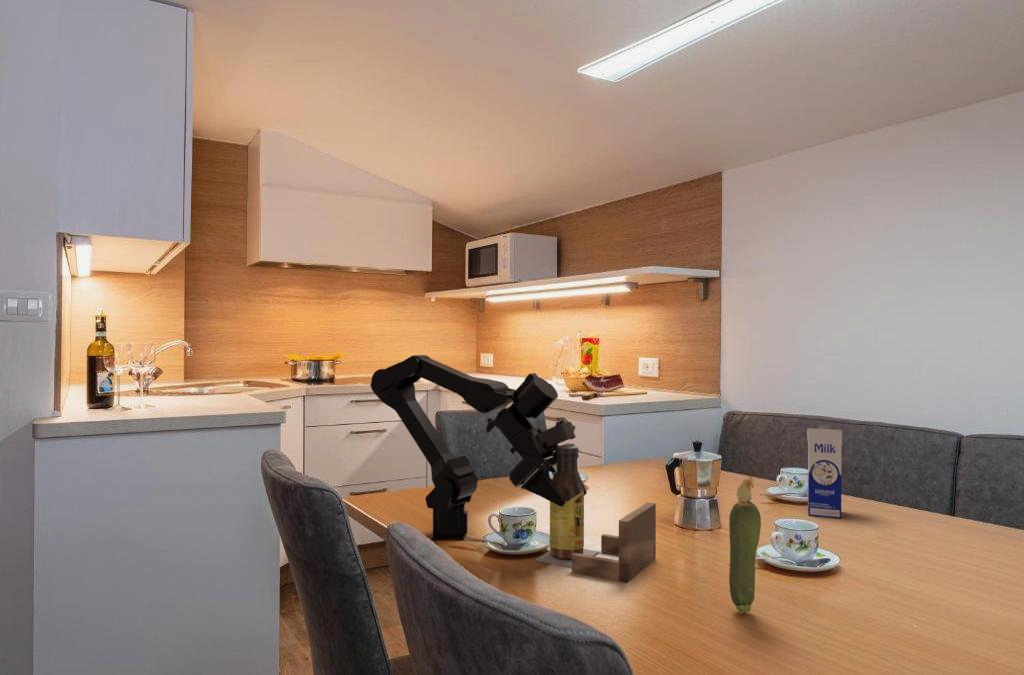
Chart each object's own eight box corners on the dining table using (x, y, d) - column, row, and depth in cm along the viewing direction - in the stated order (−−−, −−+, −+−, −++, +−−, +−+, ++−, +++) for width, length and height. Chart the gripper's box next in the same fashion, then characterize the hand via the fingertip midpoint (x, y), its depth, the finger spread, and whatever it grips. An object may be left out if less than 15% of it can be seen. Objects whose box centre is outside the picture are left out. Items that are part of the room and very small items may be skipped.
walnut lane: (571, 572, 119) (571, 513, 119) (603, 549, 131) (603, 496, 131) (627, 582, 114) (627, 521, 114) (655, 558, 126) (655, 503, 126)
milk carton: (807, 515, 157) (807, 427, 157) (806, 508, 163) (807, 423, 163) (842, 518, 154) (842, 428, 154) (840, 511, 161) (840, 425, 161)
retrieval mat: (535, 561, 125) (535, 559, 125) (560, 546, 133) (560, 544, 133) (576, 568, 121) (576, 566, 121) (598, 553, 129) (598, 551, 129)
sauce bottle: (582, 562, 123) (582, 450, 123) (547, 559, 124) (547, 449, 124) (585, 550, 130) (585, 444, 130) (552, 548, 131) (552, 443, 131)
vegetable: (724, 606, 104) (725, 472, 104) (752, 605, 104) (753, 472, 104) (736, 618, 100) (737, 478, 100) (765, 617, 100) (766, 478, 100)
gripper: (524, 410, 121) (582, 481, 115) (570, 402, 137) (622, 463, 132) (486, 452, 125) (540, 522, 119) (534, 439, 141) (584, 499, 135)
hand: (574, 499), depth 126 cm, fingers open, 9 cm apart
